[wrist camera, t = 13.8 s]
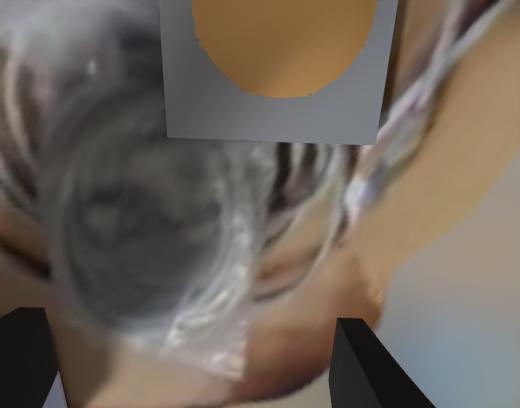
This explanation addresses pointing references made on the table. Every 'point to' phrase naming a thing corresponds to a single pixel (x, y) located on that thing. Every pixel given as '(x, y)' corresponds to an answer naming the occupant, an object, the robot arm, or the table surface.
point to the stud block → (268, 108)
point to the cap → (282, 41)
